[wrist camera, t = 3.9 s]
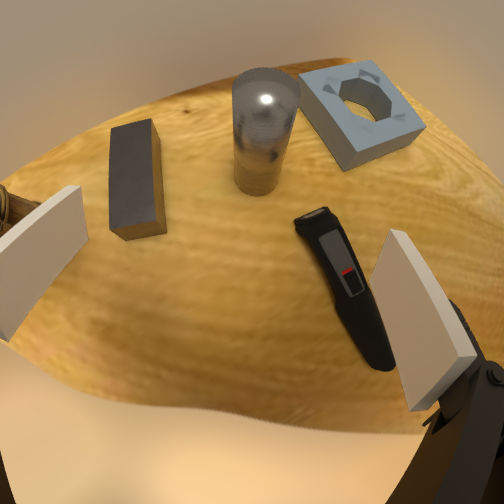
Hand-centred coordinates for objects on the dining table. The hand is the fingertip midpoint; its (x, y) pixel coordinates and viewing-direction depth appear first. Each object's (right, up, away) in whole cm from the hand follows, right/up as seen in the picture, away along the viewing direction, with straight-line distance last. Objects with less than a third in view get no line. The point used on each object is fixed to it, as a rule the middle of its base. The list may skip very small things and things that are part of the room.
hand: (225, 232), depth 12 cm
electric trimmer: (+9, -4, +14) cm, 17 cm away
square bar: (-9, +5, +15) cm, 19 cm away
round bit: (+1, +6, +15) cm, 17 cm away
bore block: (+12, +14, +17) cm, 25 cm away
